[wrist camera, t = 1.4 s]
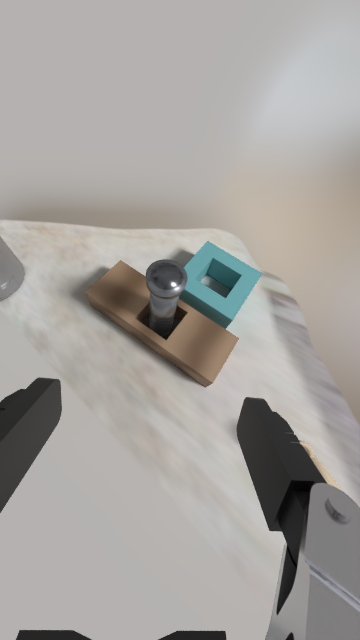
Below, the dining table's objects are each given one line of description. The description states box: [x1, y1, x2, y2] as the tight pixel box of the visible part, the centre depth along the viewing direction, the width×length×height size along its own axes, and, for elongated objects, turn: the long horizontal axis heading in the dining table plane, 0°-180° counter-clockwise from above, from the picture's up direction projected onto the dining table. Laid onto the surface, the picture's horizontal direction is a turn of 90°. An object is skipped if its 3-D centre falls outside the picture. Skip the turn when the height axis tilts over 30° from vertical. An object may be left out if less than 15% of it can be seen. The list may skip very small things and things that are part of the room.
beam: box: [85, 260, 239, 387], centre depth 30 cm, size 20×7×4 cm, turn 56°
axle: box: [146, 260, 188, 336], centre depth 26 cm, size 4×4×12 cm
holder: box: [179, 241, 262, 329], centre depth 33 cm, size 10×10×4 cm
